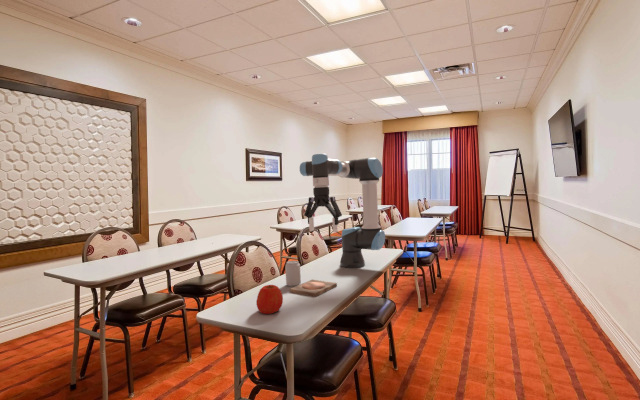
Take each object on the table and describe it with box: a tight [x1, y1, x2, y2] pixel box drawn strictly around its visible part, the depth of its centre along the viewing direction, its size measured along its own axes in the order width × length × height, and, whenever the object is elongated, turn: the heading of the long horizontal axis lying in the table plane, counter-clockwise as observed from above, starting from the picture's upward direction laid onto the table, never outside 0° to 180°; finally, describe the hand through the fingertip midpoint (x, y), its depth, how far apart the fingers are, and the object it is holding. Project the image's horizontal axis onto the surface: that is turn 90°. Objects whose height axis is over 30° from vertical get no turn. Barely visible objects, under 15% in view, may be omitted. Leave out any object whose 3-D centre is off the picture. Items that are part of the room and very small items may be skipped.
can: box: [284, 260, 302, 288], centre depth 174 cm, size 8×8×12 cm
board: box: [289, 279, 338, 297], centre depth 166 cm, size 18×15×2 cm
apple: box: [256, 284, 284, 315], centre depth 138 cm, size 11×11×11 cm
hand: (323, 231), depth 163 cm, fingers open, 13 cm apart
